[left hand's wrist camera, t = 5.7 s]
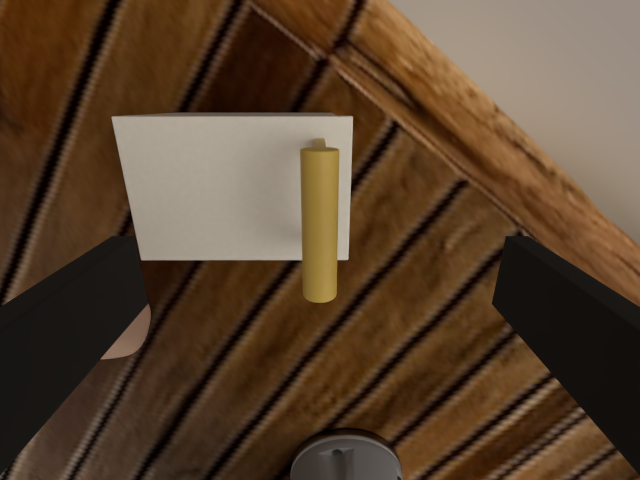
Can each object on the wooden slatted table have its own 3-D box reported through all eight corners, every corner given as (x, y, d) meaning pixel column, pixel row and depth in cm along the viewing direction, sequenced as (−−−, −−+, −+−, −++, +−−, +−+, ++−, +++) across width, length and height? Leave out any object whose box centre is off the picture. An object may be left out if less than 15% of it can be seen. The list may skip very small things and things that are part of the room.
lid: (351, 115, 22) (369, 122, 14) (347, 255, 26) (360, 322, 18) (118, 116, 22) (5, 122, 14) (146, 255, 26) (69, 323, 18)
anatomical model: (129, 300, 34) (140, 390, 38) (148, 280, 37) (156, 364, 42) (-10, 289, 33) (17, 381, 37) (23, 270, 37) (44, 356, 41)
